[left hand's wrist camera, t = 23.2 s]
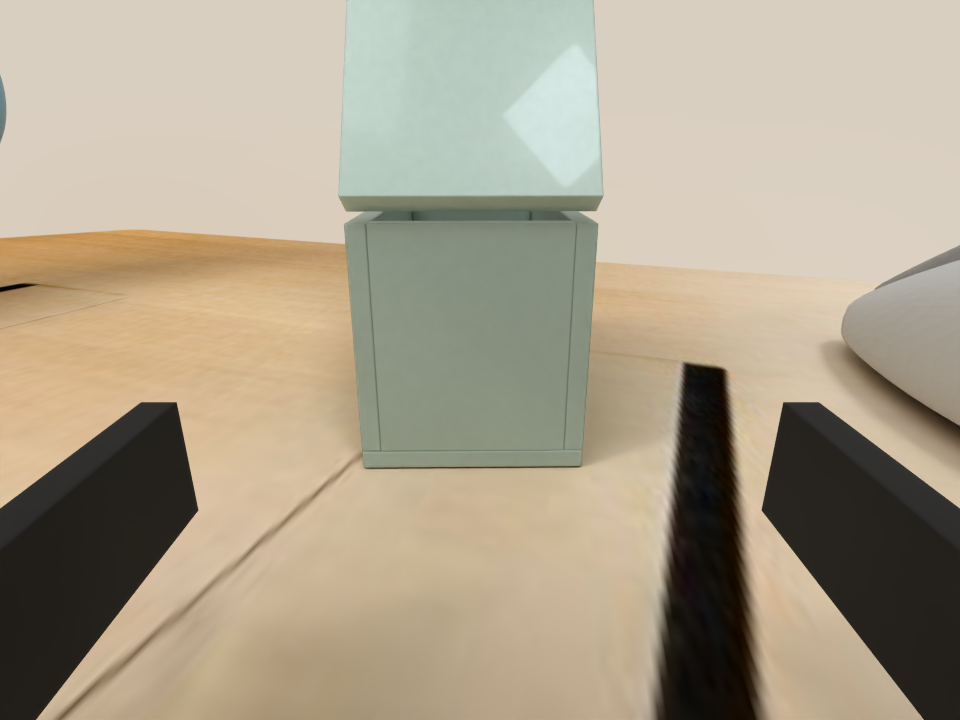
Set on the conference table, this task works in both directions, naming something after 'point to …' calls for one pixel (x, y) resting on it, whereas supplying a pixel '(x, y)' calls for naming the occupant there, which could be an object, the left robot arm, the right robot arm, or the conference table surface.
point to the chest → (471, 336)
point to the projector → (914, 332)
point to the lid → (470, 106)
